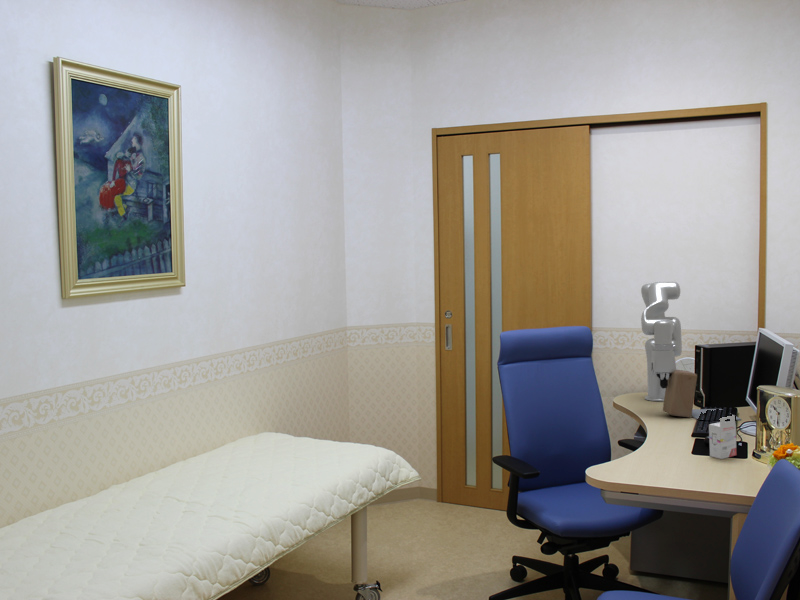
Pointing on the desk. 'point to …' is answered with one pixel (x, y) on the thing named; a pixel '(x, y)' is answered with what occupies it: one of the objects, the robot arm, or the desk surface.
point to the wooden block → (680, 393)
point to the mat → (697, 413)
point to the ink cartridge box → (723, 438)
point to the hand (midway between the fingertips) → (663, 387)
